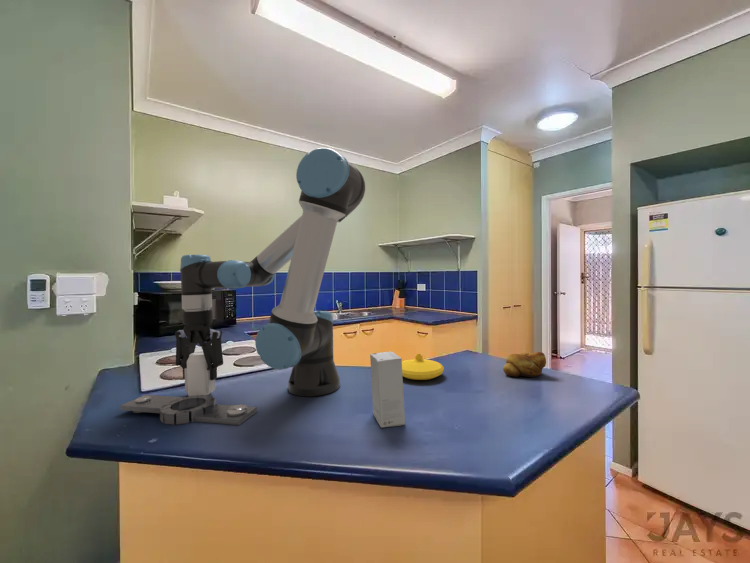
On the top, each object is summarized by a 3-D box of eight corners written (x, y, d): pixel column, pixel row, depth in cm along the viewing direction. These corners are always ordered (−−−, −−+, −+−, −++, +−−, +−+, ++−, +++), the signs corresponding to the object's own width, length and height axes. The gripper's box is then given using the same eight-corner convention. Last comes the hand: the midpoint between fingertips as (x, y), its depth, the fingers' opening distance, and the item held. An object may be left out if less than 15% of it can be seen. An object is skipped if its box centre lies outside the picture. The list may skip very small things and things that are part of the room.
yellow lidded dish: (384, 376, 105) (384, 355, 105) (416, 366, 116) (416, 347, 116) (422, 388, 94) (422, 364, 93) (453, 376, 104) (453, 354, 104)
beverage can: (197, 391, 95) (196, 350, 95) (217, 391, 94) (215, 350, 94) (182, 399, 89) (181, 356, 89) (203, 399, 88) (202, 356, 88)
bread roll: (509, 380, 99) (508, 354, 99) (496, 370, 109) (495, 347, 109) (550, 378, 100) (549, 353, 100) (533, 369, 109) (533, 346, 109)
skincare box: (405, 425, 71) (404, 358, 71) (379, 429, 70) (377, 360, 69) (394, 410, 79) (393, 349, 79) (370, 412, 78) (369, 351, 77)
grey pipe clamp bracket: (262, 408, 82) (261, 396, 82) (233, 430, 71) (232, 416, 71) (153, 400, 89) (153, 389, 89) (111, 419, 77) (110, 406, 77)
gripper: (236, 308, 93) (238, 387, 93) (179, 308, 97) (182, 384, 97) (218, 311, 85) (221, 397, 86) (157, 311, 89) (160, 393, 90)
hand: (200, 390), depth 92 cm, fingers closed on beverage can, 6 cm apart
